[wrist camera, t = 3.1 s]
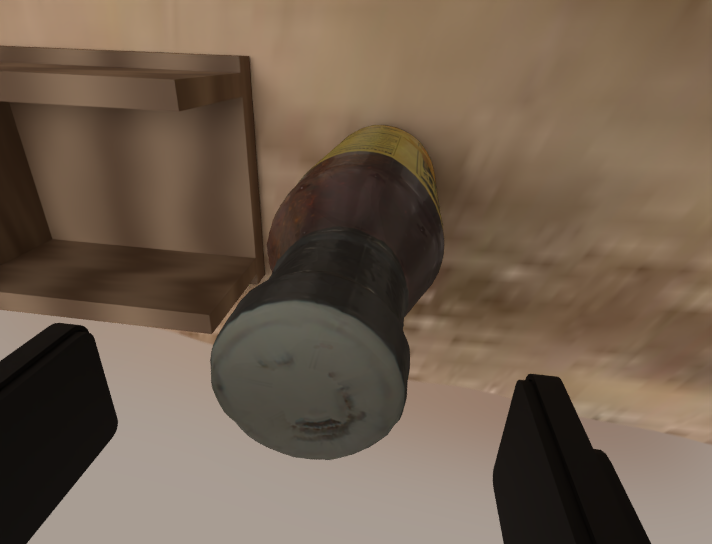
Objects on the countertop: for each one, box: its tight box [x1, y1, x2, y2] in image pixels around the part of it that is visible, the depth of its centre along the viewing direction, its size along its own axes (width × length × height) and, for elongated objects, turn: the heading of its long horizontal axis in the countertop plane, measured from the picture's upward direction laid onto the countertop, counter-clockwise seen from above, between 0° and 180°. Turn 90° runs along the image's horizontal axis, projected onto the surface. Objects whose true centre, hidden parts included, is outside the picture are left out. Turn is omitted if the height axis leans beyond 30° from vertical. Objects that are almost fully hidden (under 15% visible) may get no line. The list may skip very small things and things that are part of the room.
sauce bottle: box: [210, 125, 444, 460], centre depth 17 cm, size 6×6×20 cm
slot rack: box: [0, 46, 265, 334], centre depth 24 cm, size 16×14×8 cm
